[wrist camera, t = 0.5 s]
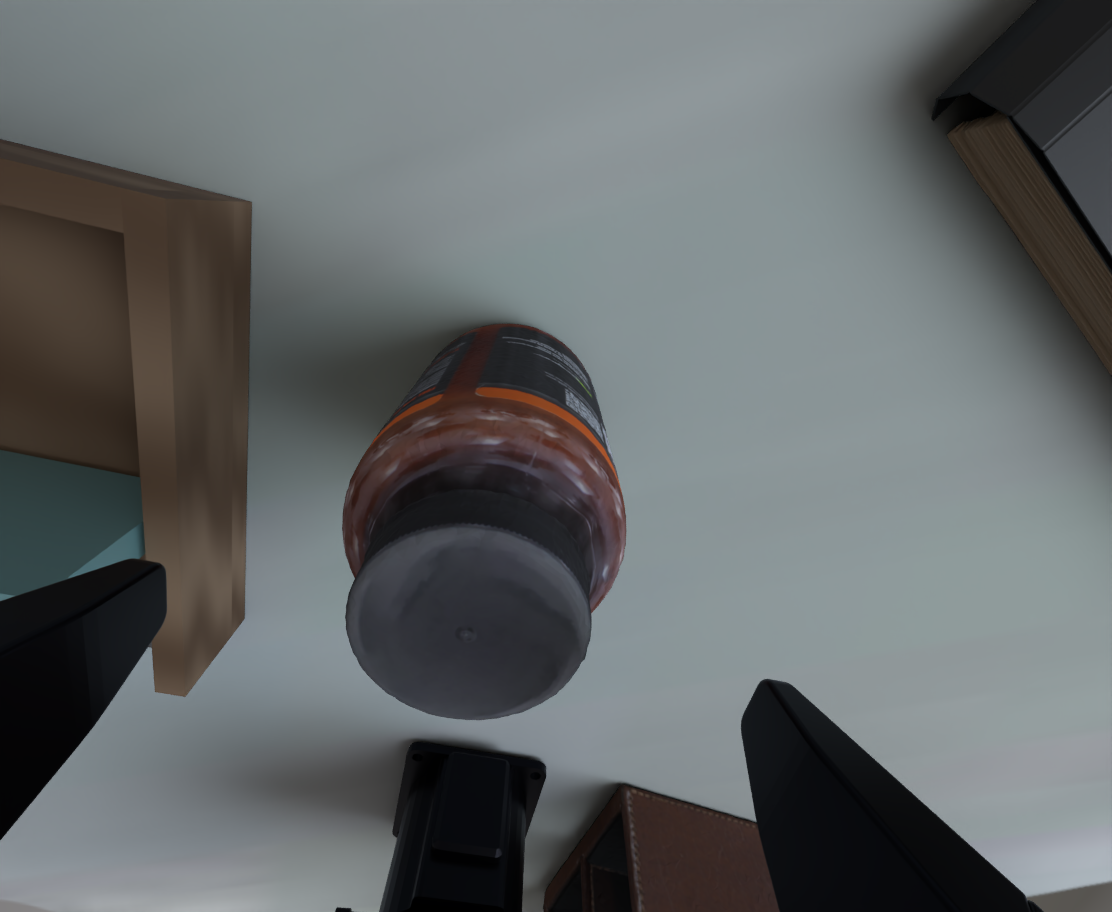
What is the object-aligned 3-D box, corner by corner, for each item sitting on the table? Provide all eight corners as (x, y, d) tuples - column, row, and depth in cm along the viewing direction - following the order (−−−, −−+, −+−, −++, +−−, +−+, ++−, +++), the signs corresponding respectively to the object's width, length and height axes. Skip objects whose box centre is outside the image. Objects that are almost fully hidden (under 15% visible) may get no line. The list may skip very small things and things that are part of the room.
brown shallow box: (244, 618, 23) (185, 696, 19) (-29, 570, 22) (-147, 643, 18) (251, 201, 16) (165, 198, 13) (-132, 106, 15) (-345, 72, 12)
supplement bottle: (409, 460, 20) (255, 728, 10) (443, 296, 18) (287, 414, 7) (568, 500, 21) (585, 790, 10) (620, 348, 18) (710, 524, 8)
